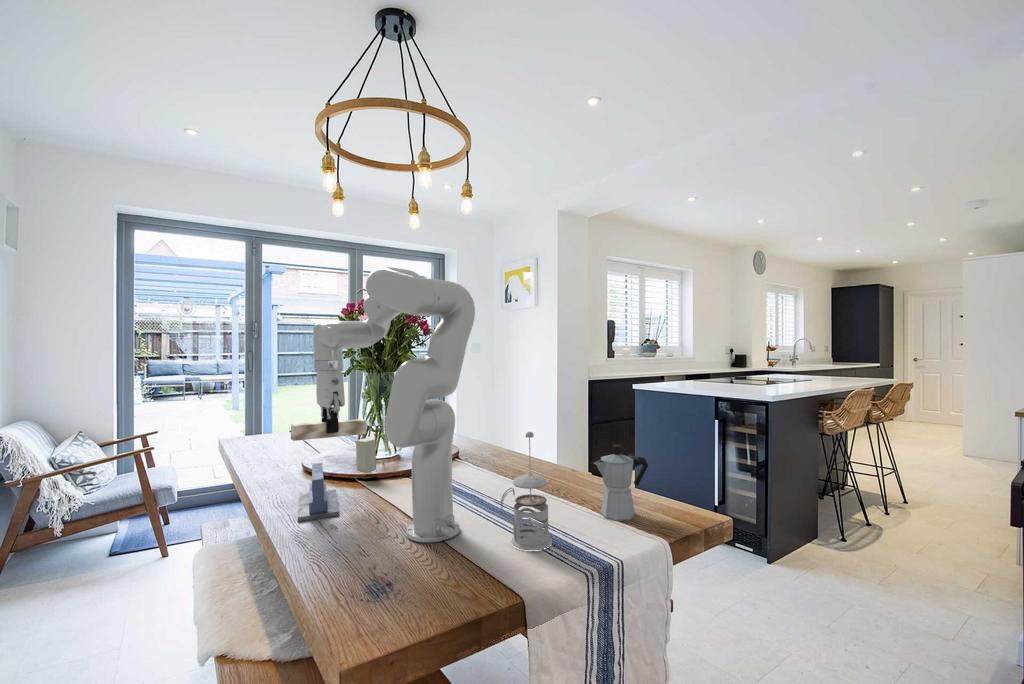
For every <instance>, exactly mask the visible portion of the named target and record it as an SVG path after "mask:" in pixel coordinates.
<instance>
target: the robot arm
mask: <svg viewBox="0 0 1024 684" xmlns="http://www.w3.org/2000/svg"><path fill="white" fill-rule="evenodd" d="M366 278H367V279H366V282H365V291H366V293H367V296H366V297H365V298H364V300H363V303H362V308H363V310H364V313H365V315H366V317H367V319H365V320H363V321H362V320H361V321H360V320H359V321H358V320H333V321H330V322H317V323H315V324H314V325H313V329H312V331H313V332H312V336H313V369H314V370H313V371H314V372H313V373H316V385H315V386H316V388H315V389H316V392H315V393H316V395H315V396H316V404H317V406H319V407H320V412H321V413H320V416H321V422H326V433H328V434H330V433H337V432H338V431H339V427H338V421H339V415H340V414H339V413H340V411H341V408H342V407H344V406H345V405H346V398H345V386H344V378H343V377H344V376H343V371H344V370H343V369H344V365H343V364H344V363H343V362H344V361H343V357H344V355H343V349H344V350H345V349H348V350H349V349H363V348H369V347H371V346H373V345H375V344H376V343H378V342H379V341H380V340H382V339H383V338H385V336H386V335H387V334H388V333H389V330H390V327H391V321H392V320H394V319H395V318H396V317H398V316H400V315H401V314H402V313H404V314H405V315H410V316H417V317H418V316H419V317H440V318H441V320H440V322H439V323H437V325H436V327H435V328H434V330H433V331H432V333H431V337H430V339H429V344H428V348H427V351H426V354H425V355H424V357H420V358H419V357H418V358H411V359H408V360H406V361H404V362H403V363H402V364H400V366H399V367H398V368H397V370H396V372H395V374H394V376H393V380H392V385H391V389H390V393H389V399H388V404H387V408H386V412H385V413H386V414H385V419H384V420H385V421H384V430H385V436H386V437H387V440H388V441H389V443H390V444H392V446H394V447H396V448H410V447H413V451H412V455H411V495H412V496H411V499H412V500H411V503H412V522H411V524H409V525H408V526H407V528H406V530H405V532H406V533H405V534H406V537H407V538H408V539H409V540H411V541H414V542H418V543H431V544H432V543H439V542H443V540H444V541H447V540H450V539H453V538H454V537H455V536H457V535H458V534H459V532H460V531H461V528H460V527H461V526H460V523H459V522H458V521H457V520H455V519H456V518H455V515H454V509H453V508H454V505H453V504H454V503H453V502H454V501H453V500H454V498H453V496H454V495H453V439H454V435H455V430H456V429H455V428H456V414H455V411H454V409H453V408H452V406H451V405H450V404H449V403H448V402H447V401H444V400H442V399H440V398H446V397H448V396H450V395H453V393H455V392H456V390H457V387H458V384H459V381H460V377H461V372H462V369H463V368H462V367H463V363H464V359H465V356H466V349H467V346H468V342H469V339H470V335H471V332H472V329H473V327H474V322H475V318H476V317H475V316H476V307H475V303H474V300H473V297H472V295H471V293H470V292H469V291H468V290H467V289H466V288H465V286H462V284H459V283H457V282H453V281H450V280H445V279H436V278H427V277H421V276H420V275H419V274H418V273H417V272H415V271H413V270H410V269H405V268H399V267H391V266H380V267H377V268H375V269H373V270H372V271H371V272H370V273H369V275H368V276H367V277H366ZM456 534H457V535H456ZM449 538H450V539H449ZM446 539H447V540H446Z"/></svg>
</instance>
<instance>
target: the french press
mask: <svg viewBox="0 0 1024 684" xmlns="http://www.w3.org/2000/svg"><path fill="white" fill-rule="evenodd" d="M525 438H528V443H529V445H528V449H529V452H528V453H529V459H531V438H534V433H533V432H532V431H527V432H525ZM531 466H532V465H531V462H529V473H526V474H522V475H519V476H517V477H516V478H514V479H513V480H512V485H514V486H515V487H516V488H519V489H526V490H527V489H528V490H529V493H528V494H522V495H521V494H520V495H518V496H517V497H515V498H514V502H515V504H514V505H513V518H514V519H513V518H511V517H510V516H508V515H507V514H506V513H505V511H504V506H503V503H504V499H505V498H506V497H507V496H508V494H509V493H511V492H512V495H513V496H515V495H516V494H515V489H514V487H509V488H508V489H506V490H505V491H504V492H503V495H502V496H501V500H500V508H501V512H502V513H501V514H502V515H503V517H504V518H505V519H506V520H507V521H509V522H510V523H512V525H513V537H512V538H511V539H512V541H511V540H510V541H511V543H512V544H513V546H515V547H517V548H519V549H523V550H540V549H544V548H546V547H549V546H550V545H551V544H552V540H553V539H552V538H551V537H550V535H549V533H550V532H549V505H548V504H547V501H548V499H547V498H546V497H545V496H544V495H540V494H534V493H533V494H532V490H533V489H540V488H541V489H542V488H545V487H546V486H548V484H549V480H548V479H546V478H545V477H544V476H542V475H539V474H535V473H531V470H532V469H531ZM522 507H524V508H522ZM520 508H521V509H520ZM532 508H534V509H535V510H537V511H535V510H533V509H532ZM523 518H524V519H523ZM521 519H522V520H521ZM532 519H533V520H532ZM534 520H535V521H534ZM533 525H534V526H533ZM536 526H537V527H536ZM540 528H541V529H540Z"/></svg>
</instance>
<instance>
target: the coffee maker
mask: <svg viewBox="0 0 1024 684" xmlns="http://www.w3.org/2000/svg"><path fill="white" fill-rule="evenodd" d="M621 450H622V445H621V444H612V451H613V454H609V455H603V456H601V457H600V459H598V460H597V461H595V462H593V464H594V465H596V467H597V469H598V471H599V473H600V474H601V477H602V480H603V485H604V486H605V487H604V488H603V493H602V499H601V509H600V515H601V516H602V517H603V518H604V519H606V520H611V521H616V522H625V521H632V519H634V517H635V516H636V512H635V507H634V501H633V495H632V490H631V488H630V487H631V486H632V478H633V477H632V476H633V470H634V469H635V468H637V467H639V466H641V468H640V469H639V472H638V473H637V476H636V477H635V479H634V481H633V484H634V485H635V486H636V487H638V486H639V485H640V482H641V480H642V478H644V474H645V473H646V471H647V469H648V467H649V464H648V462H647V460H646V458H645V457H642V456H636V455H634V454H629V455H624V454H621Z"/></svg>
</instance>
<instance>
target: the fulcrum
mask: <svg viewBox="0 0 1024 684" xmlns="http://www.w3.org/2000/svg"><path fill="white" fill-rule="evenodd" d="M323 467H324V466H323V462H316V463H312V464H311V483H309V492H308V493H301V494H299V496H298V507H297V508H298V509H297V523H300V522H301V521H302V522H306V521H307V522H308V521H313V520H319V519H320V520H321V519H327V518H328V519H329V518H334V517H339V516H340V509H339V502H338V496H337V489H329V490H327V482H326V481H324V468H323Z"/></svg>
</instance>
